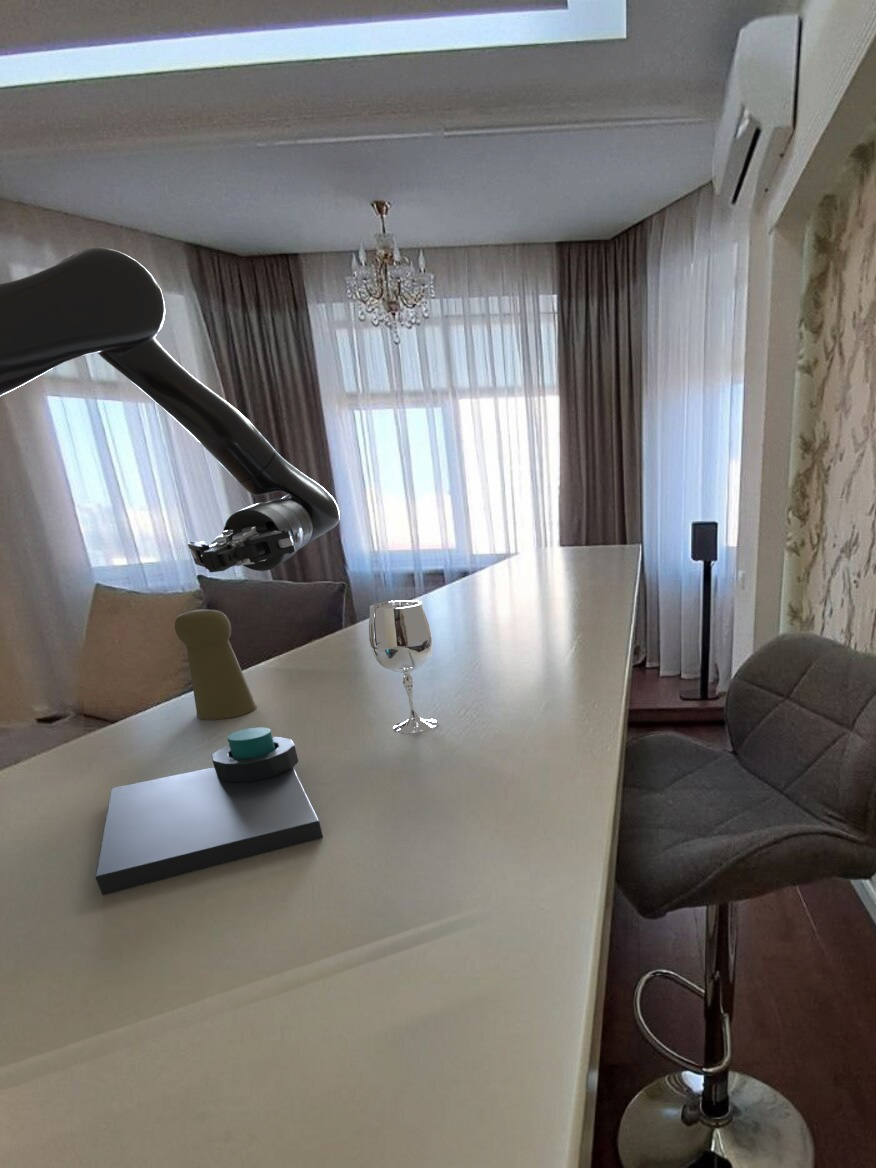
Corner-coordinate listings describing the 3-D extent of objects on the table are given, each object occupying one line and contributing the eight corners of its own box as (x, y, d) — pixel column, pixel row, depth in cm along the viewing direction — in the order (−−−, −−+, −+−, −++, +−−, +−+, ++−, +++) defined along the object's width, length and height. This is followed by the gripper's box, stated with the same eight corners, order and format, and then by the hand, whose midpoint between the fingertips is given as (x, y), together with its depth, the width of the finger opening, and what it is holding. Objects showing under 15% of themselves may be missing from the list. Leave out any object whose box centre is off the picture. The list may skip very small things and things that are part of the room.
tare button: (278, 755, 55) (272, 735, 54) (234, 764, 54) (228, 743, 53) (273, 744, 58) (267, 724, 57) (231, 752, 56) (225, 732, 56)
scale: (331, 836, 48) (322, 797, 46) (102, 896, 42) (84, 854, 40) (295, 763, 61) (287, 731, 59) (117, 801, 55) (104, 766, 53)
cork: (227, 721, 73) (196, 616, 68) (184, 717, 75) (152, 615, 70) (268, 704, 78) (243, 606, 73) (227, 701, 80) (200, 605, 75)
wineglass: (423, 738, 65) (403, 610, 60) (374, 733, 67) (350, 609, 62) (455, 719, 70) (438, 600, 65) (408, 715, 72) (388, 599, 67)
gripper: (205, 511, 89) (137, 534, 74) (306, 498, 89) (259, 519, 74) (227, 570, 92) (167, 603, 78) (324, 557, 93) (282, 589, 78)
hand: (212, 562), depth 76 cm, fingers closed
